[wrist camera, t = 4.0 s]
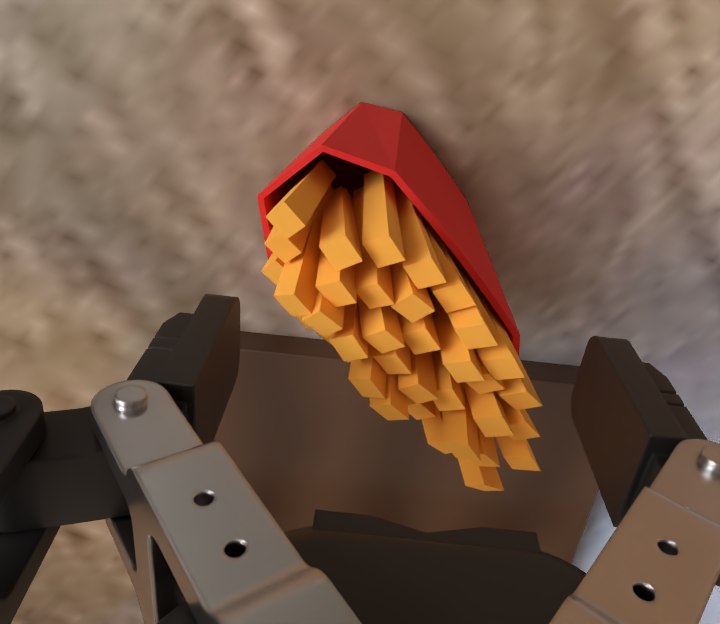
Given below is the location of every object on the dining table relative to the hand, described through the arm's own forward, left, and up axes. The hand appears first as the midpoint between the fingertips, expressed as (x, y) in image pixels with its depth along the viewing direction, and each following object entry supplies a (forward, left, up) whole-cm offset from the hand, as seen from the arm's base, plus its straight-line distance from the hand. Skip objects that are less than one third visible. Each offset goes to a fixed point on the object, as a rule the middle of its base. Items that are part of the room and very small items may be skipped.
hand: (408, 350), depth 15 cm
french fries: (0, 0, -12) cm, 12 cm away
